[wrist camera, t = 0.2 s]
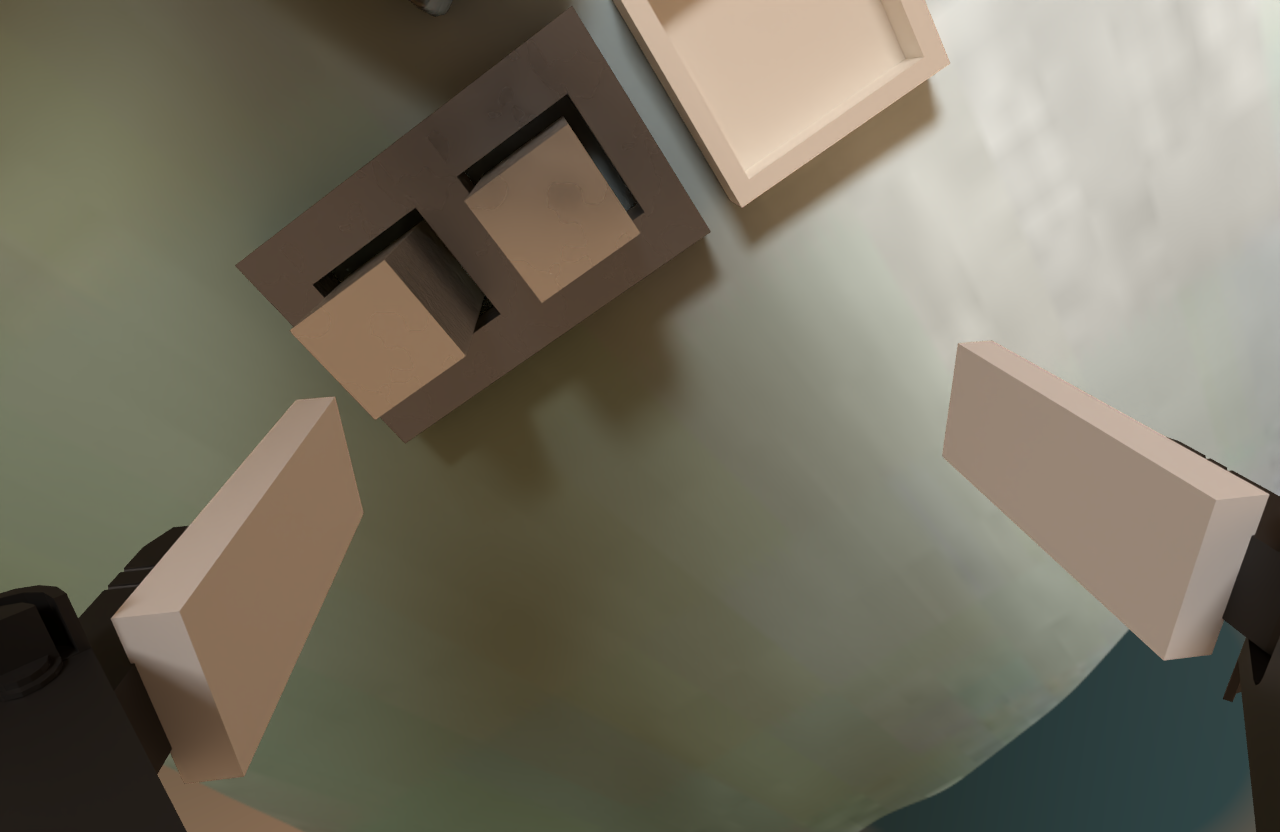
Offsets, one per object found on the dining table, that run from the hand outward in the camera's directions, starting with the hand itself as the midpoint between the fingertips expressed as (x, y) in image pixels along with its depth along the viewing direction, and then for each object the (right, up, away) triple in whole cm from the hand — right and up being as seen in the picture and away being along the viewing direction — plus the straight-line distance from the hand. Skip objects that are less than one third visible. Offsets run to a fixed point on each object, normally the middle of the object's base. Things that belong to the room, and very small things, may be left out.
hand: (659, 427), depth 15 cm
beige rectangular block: (-12, +7, +24) cm, 28 cm away
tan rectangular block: (-5, +12, +22) cm, 26 cm away
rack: (-9, +10, +23) cm, 26 cm away
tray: (+6, +20, +20) cm, 29 cm away
